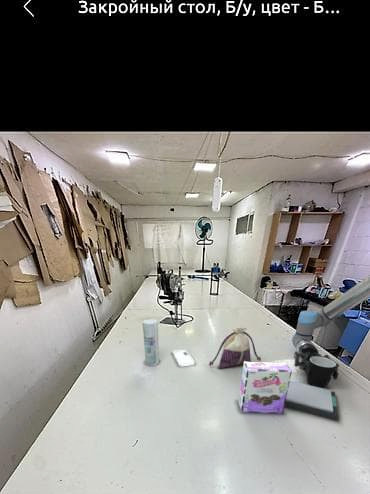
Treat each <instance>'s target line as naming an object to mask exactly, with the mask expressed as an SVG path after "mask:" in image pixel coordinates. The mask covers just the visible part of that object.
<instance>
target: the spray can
mask: <svg viewBox="0 0 370 494" xmlns="http://www.w3.org/2000/svg"><path fill="white" fill-rule="evenodd" d="M142 330H143V331H142V333H143V346H144V360H145V364H146V365H147V366H156V365H158V364H159V363H160V347H159V346H160V345H159V344H160V343H159V321H158V319H154V318H148V319H145V320H143V321H142Z"/></svg>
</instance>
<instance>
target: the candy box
mask: <svg viewBox="0 0 370 494" xmlns="http://www.w3.org/2000/svg"><path fill="white" fill-rule="evenodd" d="M242 365H243V366H242V371H241V378H240V387H239V392H238V399H237V402H238V405H239V410H240V413H249V414H250V413H252V414H257V413H258V414H283V413H284V409H285V407H284V405H285V400H286V396H287V391H288V387H289V382H290V381H291V377H292V373H293V370H292V369H291V367H289V365H288V364H287V362H270V361H269V362H268V361H266V362H265V361H251V362H246V361H244V364H242Z"/></svg>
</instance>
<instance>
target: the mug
mask: <svg viewBox="0 0 370 494" xmlns="http://www.w3.org/2000/svg"><path fill="white" fill-rule="evenodd" d="M332 360H333V359H332ZM332 360H330V359H328V358H324V357H311V358H310V360H309V361H308V363H307V365H308V366H309V368H310V370H311V372H310V376H309V377H308V376H307V375H306V382H307V385H310V386H314V387H319V388H323V389H325V388H326V387H327V386H328V384H330V381H331V379H332V378H333V377H332V375H333V373H334V370H335V368H336V363H337V362H336V361H335V360H334V361H335V362H336V363H335V362H334V361H332Z"/></svg>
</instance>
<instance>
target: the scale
mask: <svg viewBox="0 0 370 494" xmlns="http://www.w3.org/2000/svg"><path fill="white" fill-rule="evenodd" d="M284 408H288V409H291V410H295V411H299V412H302V413H306V414H310V415H314V416H317V417H320V418H323V419H327V420H331V421H335V422H337V421H338V419H339V412H338V404H337V398H336V391H334V390H331V389H327V388H319V387H314V386H311V385H309V384H305V383H301V382H297V381H292V380H290V382H289V387H288V391H287V396H286V400H285V405H284Z"/></svg>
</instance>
